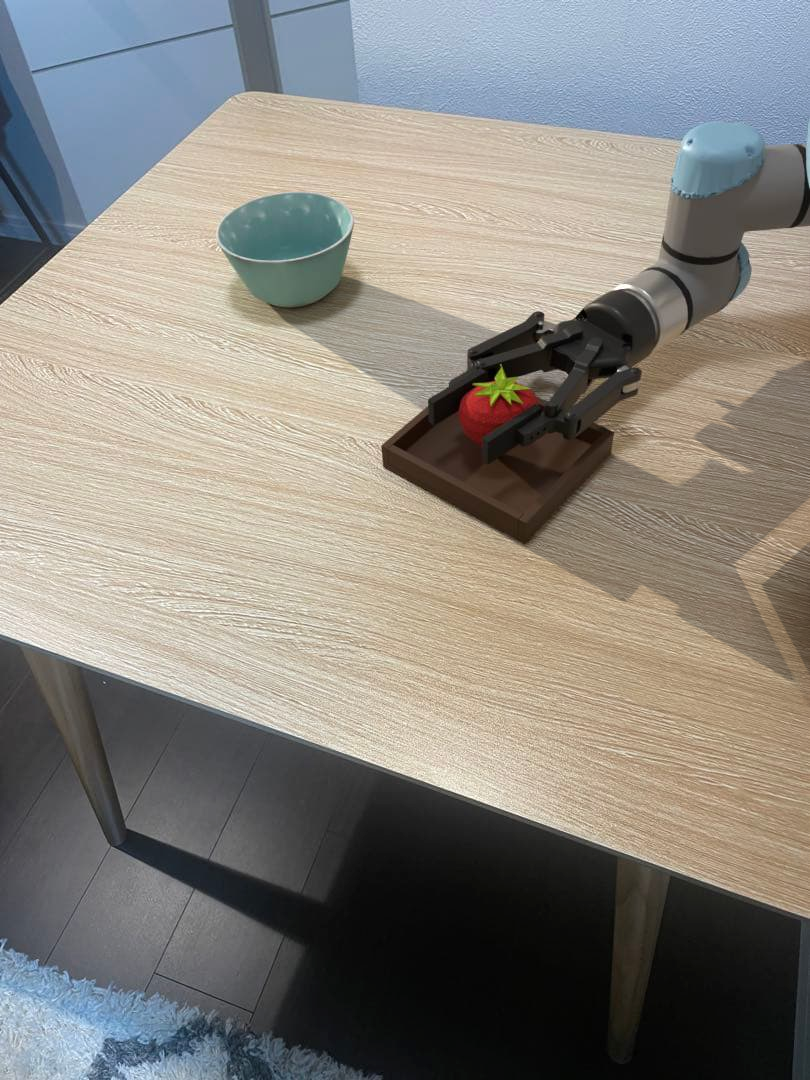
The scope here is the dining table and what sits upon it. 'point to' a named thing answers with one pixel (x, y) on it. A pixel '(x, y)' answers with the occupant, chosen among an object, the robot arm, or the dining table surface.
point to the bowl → (288, 245)
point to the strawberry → (493, 405)
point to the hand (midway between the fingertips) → (457, 431)
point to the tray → (496, 471)
